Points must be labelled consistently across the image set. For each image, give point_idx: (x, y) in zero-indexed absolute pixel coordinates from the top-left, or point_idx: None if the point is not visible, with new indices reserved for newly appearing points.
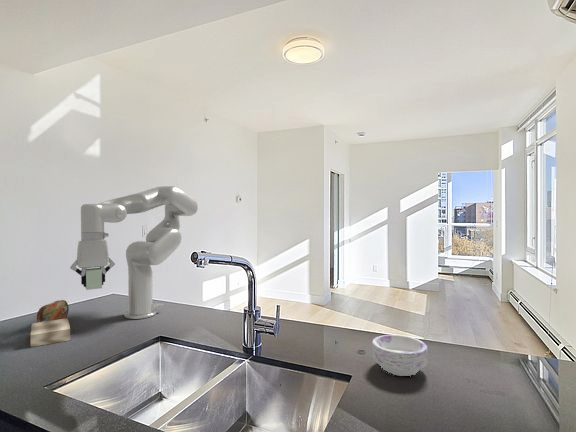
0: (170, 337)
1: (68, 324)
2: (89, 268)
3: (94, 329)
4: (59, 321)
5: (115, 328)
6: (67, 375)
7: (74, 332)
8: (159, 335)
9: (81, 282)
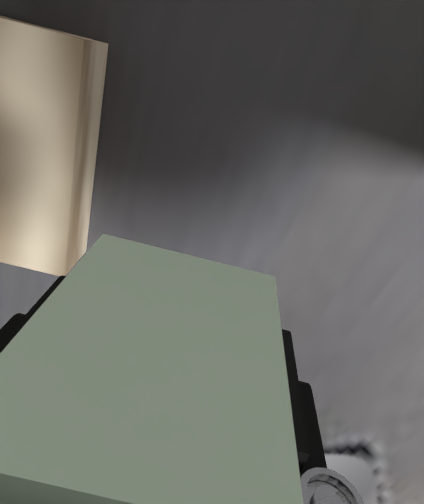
0: (376, 476)
1: (66, 198)
2: (33, 483)
3: (217, 180)
4: (27, 86)
5: (298, 245)
6: None
7: (124, 150)
8: (366, 441)
9: (9, 331)
